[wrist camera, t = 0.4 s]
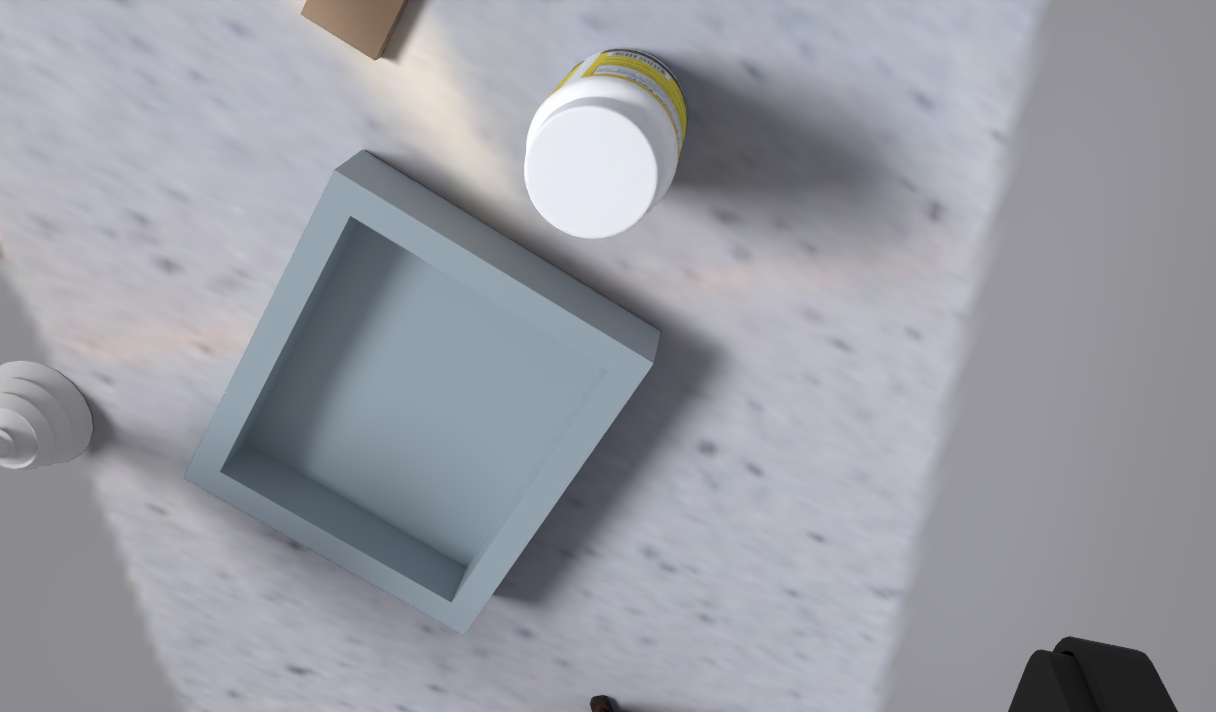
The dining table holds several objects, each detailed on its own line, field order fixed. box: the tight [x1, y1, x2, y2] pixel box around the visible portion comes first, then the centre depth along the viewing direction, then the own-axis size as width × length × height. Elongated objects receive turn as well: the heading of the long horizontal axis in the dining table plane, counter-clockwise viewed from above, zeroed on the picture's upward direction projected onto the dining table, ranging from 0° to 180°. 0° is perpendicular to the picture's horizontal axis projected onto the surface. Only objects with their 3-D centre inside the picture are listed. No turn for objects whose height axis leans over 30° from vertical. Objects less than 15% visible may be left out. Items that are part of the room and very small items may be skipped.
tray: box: [183, 150, 661, 635], centre depth 44 cm, size 15×13×3 cm
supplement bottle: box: [524, 48, 688, 239], centre depth 36 cm, size 5×5×8 cm
